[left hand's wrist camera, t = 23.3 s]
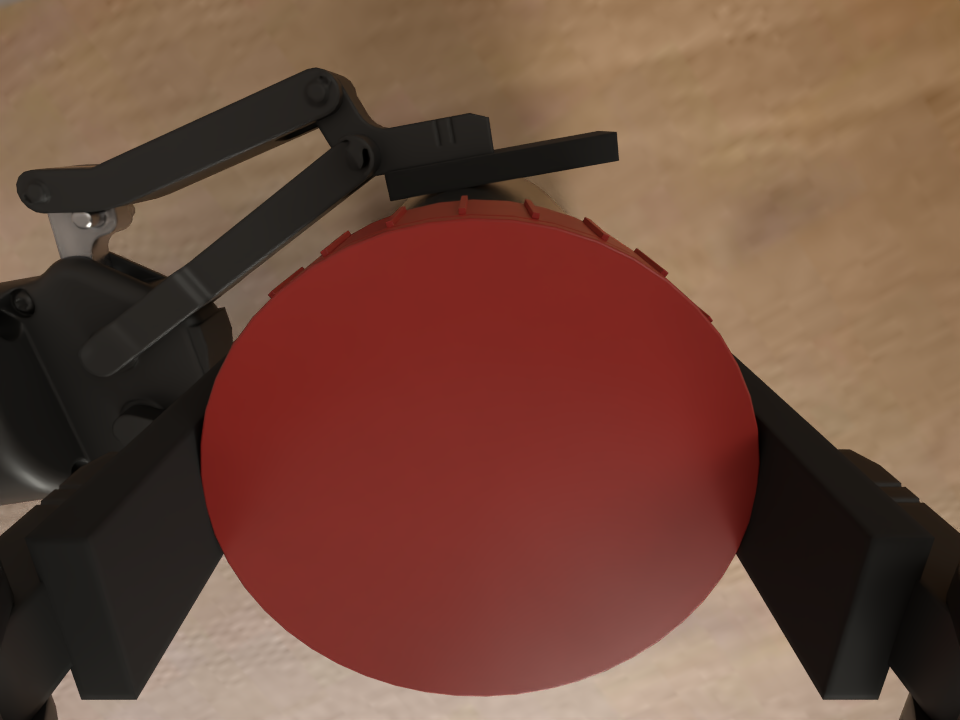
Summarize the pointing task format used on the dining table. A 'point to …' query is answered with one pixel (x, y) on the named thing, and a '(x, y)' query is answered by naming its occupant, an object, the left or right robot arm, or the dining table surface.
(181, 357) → the right robot arm
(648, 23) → the dining table surface
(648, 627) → the lid
